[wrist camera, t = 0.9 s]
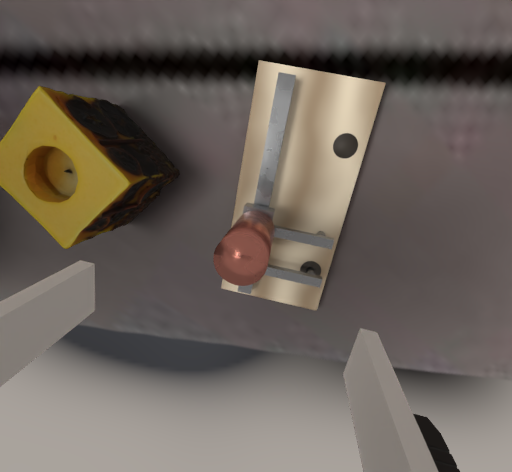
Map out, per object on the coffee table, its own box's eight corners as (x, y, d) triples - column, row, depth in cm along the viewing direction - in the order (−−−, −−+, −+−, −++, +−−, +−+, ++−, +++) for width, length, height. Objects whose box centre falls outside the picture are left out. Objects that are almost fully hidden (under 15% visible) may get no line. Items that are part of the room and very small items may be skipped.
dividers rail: (239, 285, 34) (235, 296, 31) (279, 76, 26) (277, 68, 24) (310, 301, 33) (312, 315, 30) (371, 92, 26) (380, 86, 23)
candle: (182, 173, 32) (135, 183, 22) (129, 226, 35) (67, 255, 25) (118, 100, 30) (39, 79, 21) (68, 162, 33) (-22, 168, 24)
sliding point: (238, 236, 31) (209, 281, 21) (244, 198, 30) (218, 226, 19) (324, 255, 31) (341, 312, 20) (335, 218, 29) (359, 258, 19)
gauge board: (223, 283, 35) (221, 288, 34) (260, 63, 27) (258, 60, 26) (315, 305, 34) (316, 311, 33) (381, 85, 26) (386, 82, 25)
